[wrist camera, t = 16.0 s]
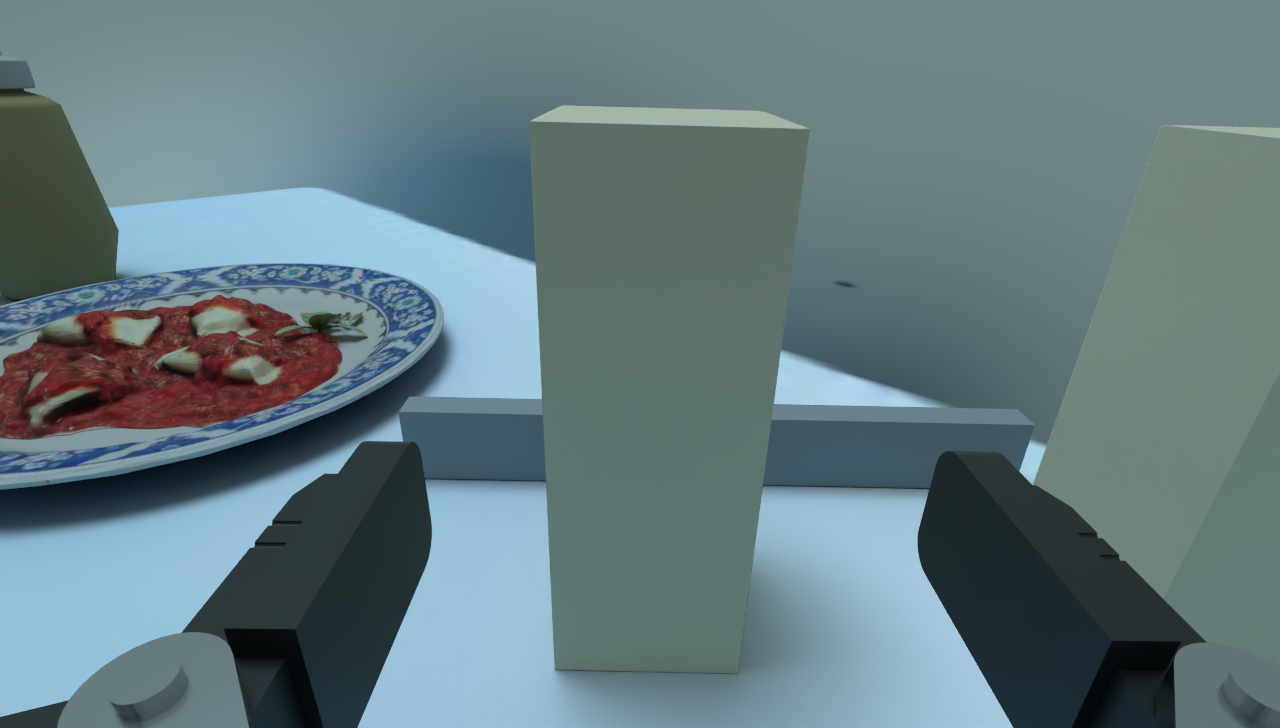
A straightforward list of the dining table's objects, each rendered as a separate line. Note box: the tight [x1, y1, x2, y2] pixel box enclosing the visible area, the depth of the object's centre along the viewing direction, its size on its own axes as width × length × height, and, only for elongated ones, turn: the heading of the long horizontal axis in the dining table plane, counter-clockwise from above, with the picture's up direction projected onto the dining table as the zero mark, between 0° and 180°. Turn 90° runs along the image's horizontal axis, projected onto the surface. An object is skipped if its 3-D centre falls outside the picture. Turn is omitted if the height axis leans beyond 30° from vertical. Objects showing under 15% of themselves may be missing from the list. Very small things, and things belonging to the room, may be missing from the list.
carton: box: [529, 106, 810, 674], centre depth 17 cm, size 5×5×14 cm
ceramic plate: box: [0, 263, 444, 490], centre depth 33 cm, size 26×26×3 cm
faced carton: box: [1033, 125, 1280, 666], centre depth 16 cm, size 5×5×14 cm
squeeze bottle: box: [0, 52, 118, 300], centre depth 40 cm, size 8×8×18 cm
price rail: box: [399, 397, 1035, 488], centre depth 25 cm, size 24×1×3 cm, turn 90°
